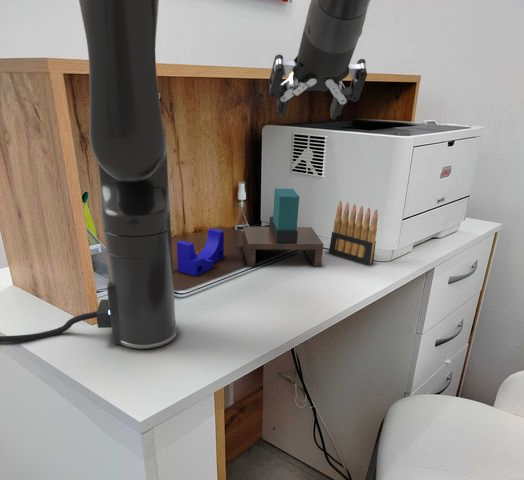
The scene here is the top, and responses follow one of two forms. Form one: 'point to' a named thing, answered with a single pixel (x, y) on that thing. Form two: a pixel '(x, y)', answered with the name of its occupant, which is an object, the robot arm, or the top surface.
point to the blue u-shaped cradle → (201, 254)
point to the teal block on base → (285, 216)
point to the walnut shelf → (265, 240)
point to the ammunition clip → (354, 235)
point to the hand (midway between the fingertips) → (307, 113)
